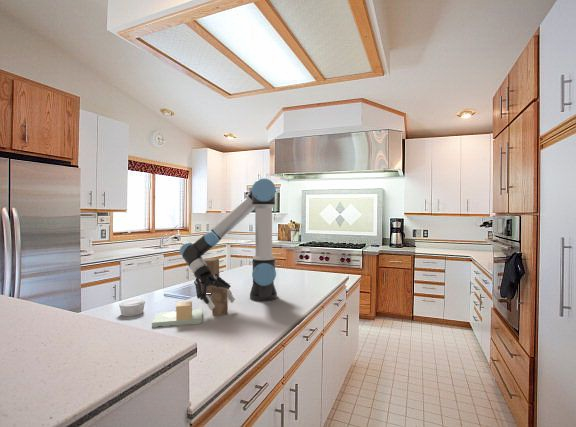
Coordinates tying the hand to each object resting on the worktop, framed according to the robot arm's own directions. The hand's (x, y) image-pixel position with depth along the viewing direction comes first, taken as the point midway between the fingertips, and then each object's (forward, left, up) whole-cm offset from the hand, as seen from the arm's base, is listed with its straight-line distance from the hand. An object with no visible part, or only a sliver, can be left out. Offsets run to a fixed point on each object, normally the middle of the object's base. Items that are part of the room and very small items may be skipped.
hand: (223, 304), depth 150 cm
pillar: (+2, -2, -5) cm, 5 cm away
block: (+8, -45, -5) cm, 46 cm away
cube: (+17, +6, -3) cm, 18 cm away
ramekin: (+43, -14, -5) cm, 45 cm away
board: (+20, +2, -5) cm, 20 cm away
